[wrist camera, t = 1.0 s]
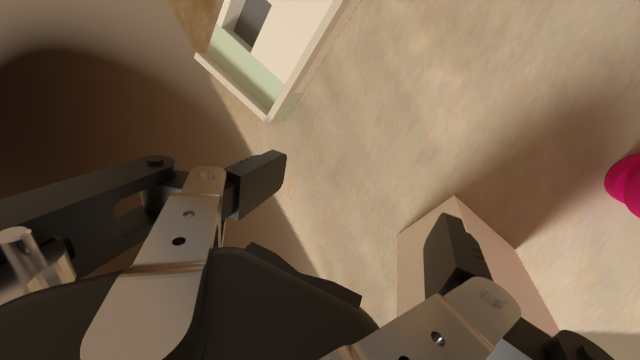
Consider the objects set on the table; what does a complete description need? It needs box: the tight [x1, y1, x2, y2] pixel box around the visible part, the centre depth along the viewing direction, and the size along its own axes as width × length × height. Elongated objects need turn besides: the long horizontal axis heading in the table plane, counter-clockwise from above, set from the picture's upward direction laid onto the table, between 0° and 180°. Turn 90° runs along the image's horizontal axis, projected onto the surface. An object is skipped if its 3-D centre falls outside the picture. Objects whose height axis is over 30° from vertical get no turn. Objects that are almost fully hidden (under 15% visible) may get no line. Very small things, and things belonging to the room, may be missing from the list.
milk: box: [397, 195, 560, 337], centre depth 25 cm, size 12×12×26 cm
